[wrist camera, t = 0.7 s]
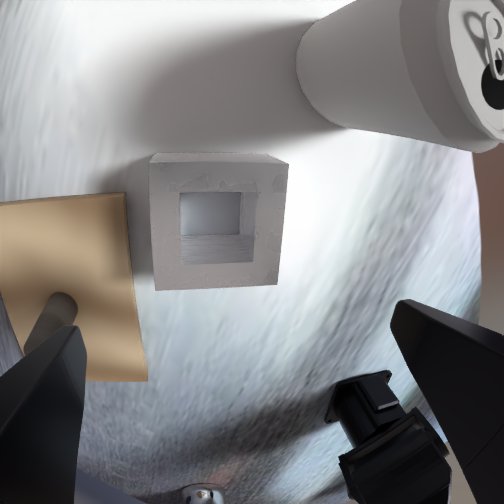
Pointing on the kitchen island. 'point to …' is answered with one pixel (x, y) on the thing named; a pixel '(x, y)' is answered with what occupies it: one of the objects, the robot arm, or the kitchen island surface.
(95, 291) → the peg stand
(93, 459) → the kitchen island surface
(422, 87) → the can
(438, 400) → the robot arm
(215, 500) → the beer glass
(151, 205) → the steel collar
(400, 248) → the kitchen island surface
